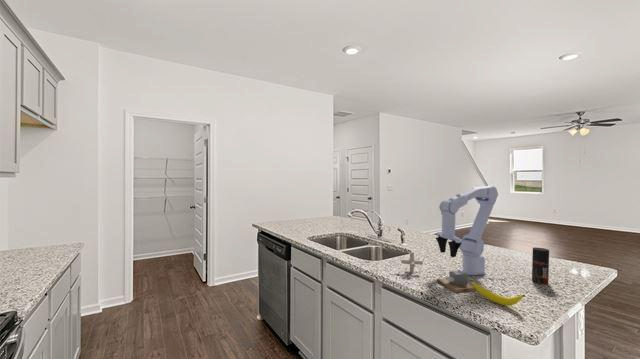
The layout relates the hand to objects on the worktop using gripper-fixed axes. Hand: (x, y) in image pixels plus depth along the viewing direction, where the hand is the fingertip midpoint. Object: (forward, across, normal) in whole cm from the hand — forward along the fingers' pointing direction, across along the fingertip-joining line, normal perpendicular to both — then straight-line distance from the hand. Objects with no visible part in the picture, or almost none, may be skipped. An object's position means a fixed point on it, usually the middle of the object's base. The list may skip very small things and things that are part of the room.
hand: (447, 254), depth 135 cm
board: (+10, +11, -3) cm, 15 cm away
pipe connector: (+11, -8, -14) cm, 19 cm away
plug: (+9, +11, -3) cm, 15 cm away
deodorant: (+10, +14, +37) cm, 41 cm away
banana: (+11, +28, 0) cm, 30 cm away
